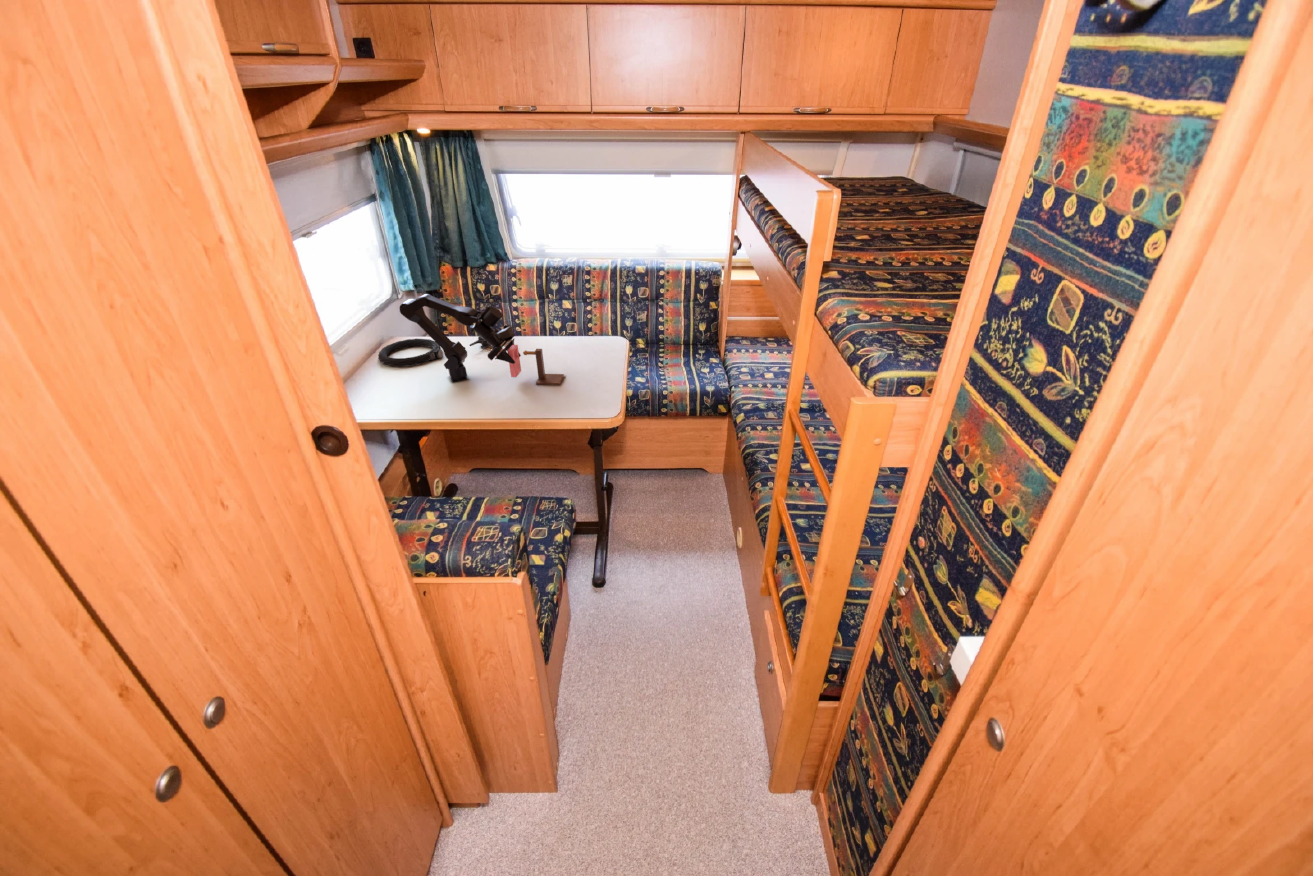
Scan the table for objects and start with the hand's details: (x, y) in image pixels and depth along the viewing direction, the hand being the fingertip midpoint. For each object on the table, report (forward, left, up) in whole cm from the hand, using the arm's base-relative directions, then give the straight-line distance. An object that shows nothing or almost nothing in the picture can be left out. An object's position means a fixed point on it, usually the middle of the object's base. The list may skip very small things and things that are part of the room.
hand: (517, 359), depth 243 cm
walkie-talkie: (-3, +47, -10) cm, 48 cm away
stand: (+9, -3, -10) cm, 14 cm away
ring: (-36, +53, -10) cm, 65 cm away
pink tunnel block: (-1, +1, -7) cm, 7 cm away
